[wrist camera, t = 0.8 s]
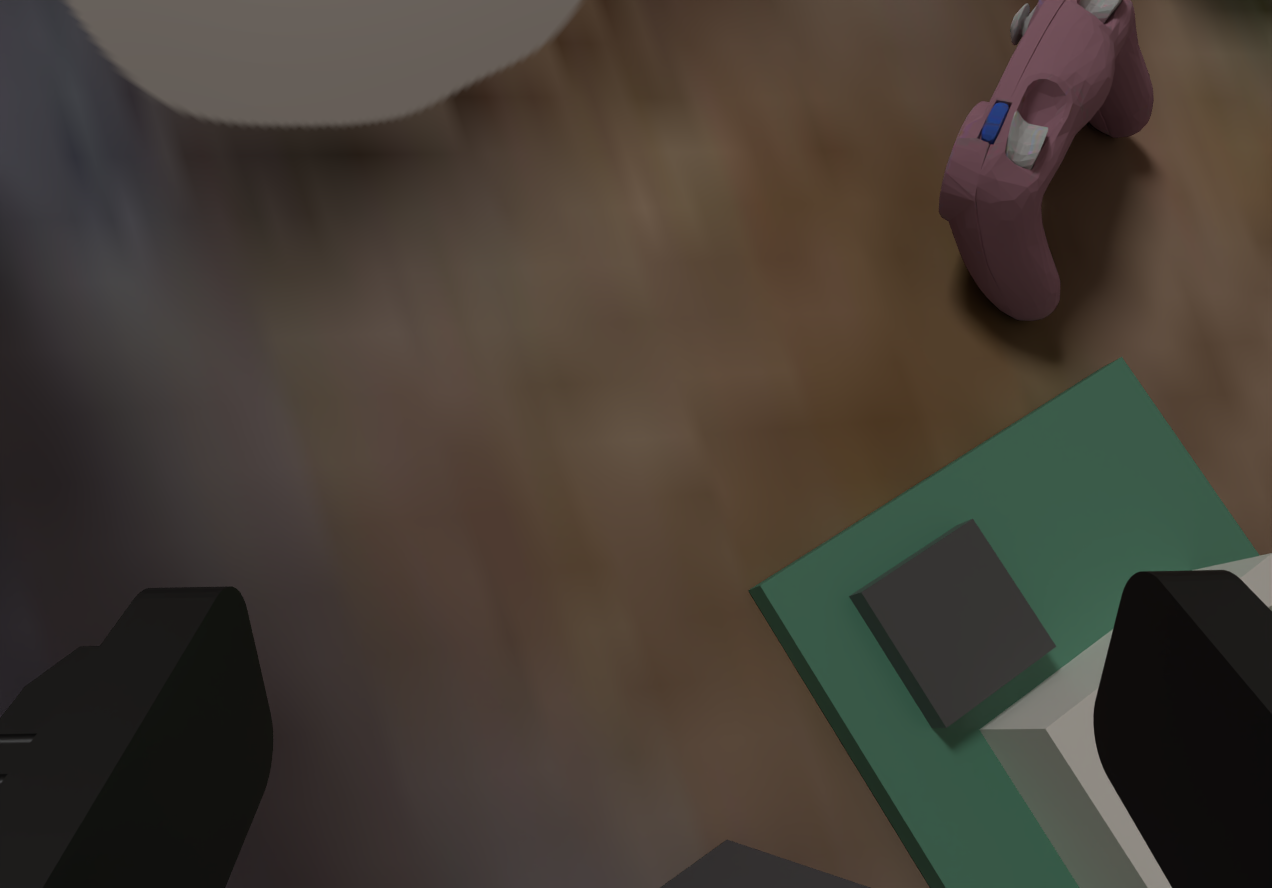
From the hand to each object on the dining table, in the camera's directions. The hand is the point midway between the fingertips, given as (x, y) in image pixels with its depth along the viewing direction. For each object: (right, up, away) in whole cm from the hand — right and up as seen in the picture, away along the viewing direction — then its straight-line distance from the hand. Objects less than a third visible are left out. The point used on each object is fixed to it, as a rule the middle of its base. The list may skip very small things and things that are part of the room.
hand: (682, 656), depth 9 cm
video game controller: (+12, +11, +24) cm, 29 cm away
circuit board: (+14, -7, +19) cm, 25 cm away
